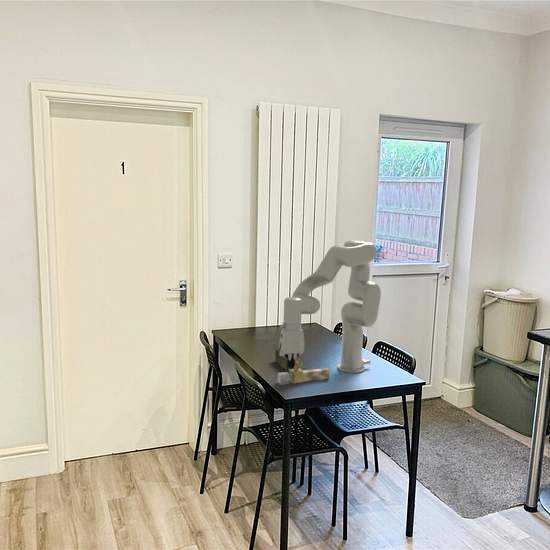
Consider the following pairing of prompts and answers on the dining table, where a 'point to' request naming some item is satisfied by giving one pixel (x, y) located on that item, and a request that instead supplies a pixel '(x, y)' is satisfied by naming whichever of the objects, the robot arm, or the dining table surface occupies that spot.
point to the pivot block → (283, 378)
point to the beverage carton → (283, 361)
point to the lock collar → (297, 373)
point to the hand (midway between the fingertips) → (290, 368)
